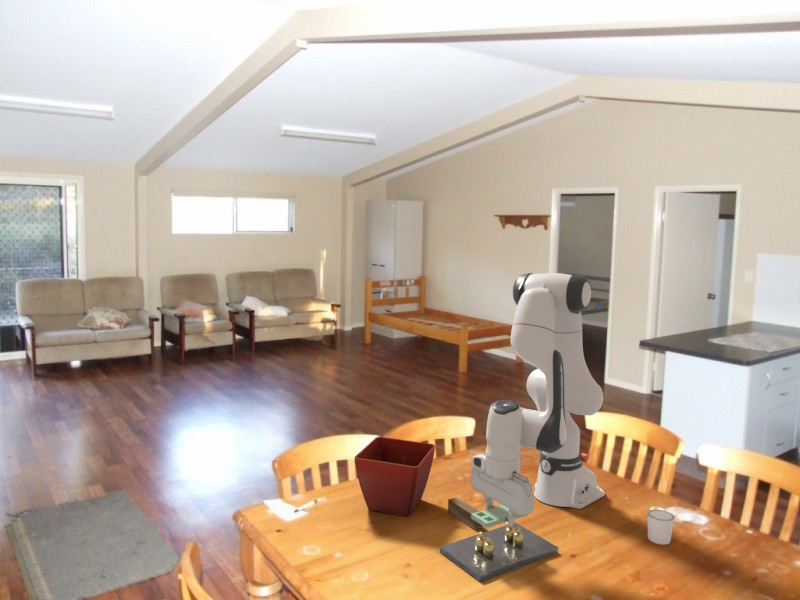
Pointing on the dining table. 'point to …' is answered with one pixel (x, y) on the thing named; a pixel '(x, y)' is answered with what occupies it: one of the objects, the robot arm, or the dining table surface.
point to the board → (492, 516)
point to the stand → (463, 512)
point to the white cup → (660, 526)
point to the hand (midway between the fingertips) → (499, 517)
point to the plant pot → (394, 474)
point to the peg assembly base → (498, 551)
